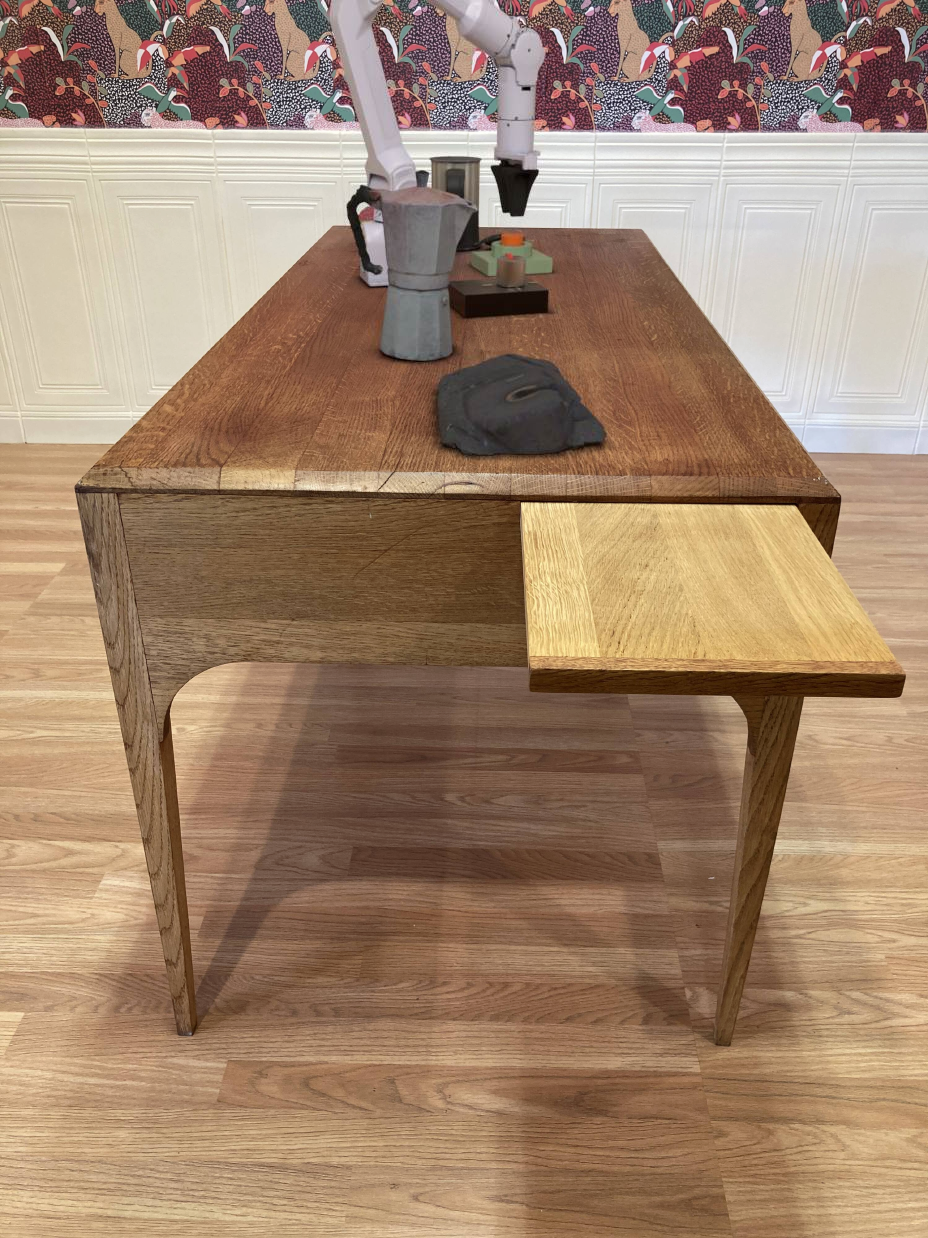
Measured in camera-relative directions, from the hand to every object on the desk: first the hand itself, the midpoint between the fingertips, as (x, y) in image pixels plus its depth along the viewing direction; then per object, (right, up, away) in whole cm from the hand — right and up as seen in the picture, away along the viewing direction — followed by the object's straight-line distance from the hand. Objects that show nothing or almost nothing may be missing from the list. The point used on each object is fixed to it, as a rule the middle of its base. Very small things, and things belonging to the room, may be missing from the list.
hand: (512, 214), depth 154 cm
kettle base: (0, -7, +4) cm, 8 cm away
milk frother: (-6, +2, +20) cm, 21 cm away
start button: (0, -4, +2) cm, 5 cm away
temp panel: (-3, -21, -19) cm, 29 cm away
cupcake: (-23, +3, +22) cm, 32 cm away
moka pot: (-14, -33, -39) cm, 53 cm away
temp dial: (-1, -18, -20) cm, 27 cm away
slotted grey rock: (-3, -45, -58) cm, 74 cm away
